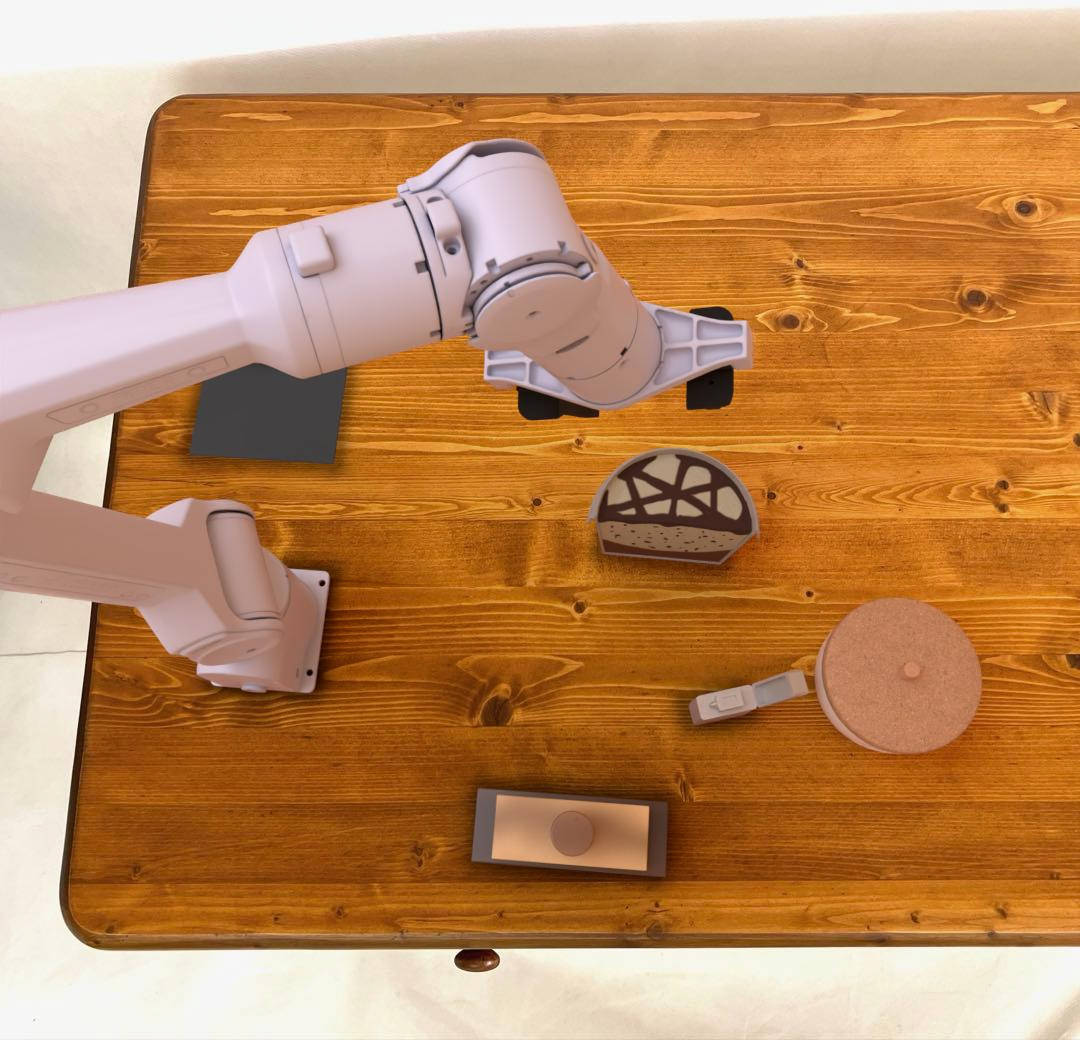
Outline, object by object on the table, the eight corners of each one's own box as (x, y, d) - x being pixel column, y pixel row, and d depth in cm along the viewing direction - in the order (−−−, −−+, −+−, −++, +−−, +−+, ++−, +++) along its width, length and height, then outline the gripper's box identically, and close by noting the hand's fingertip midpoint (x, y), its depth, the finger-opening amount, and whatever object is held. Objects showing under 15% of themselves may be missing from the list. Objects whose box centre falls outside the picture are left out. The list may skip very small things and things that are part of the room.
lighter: (693, 726, 74) (709, 715, 66) (687, 703, 74) (703, 690, 66) (784, 705, 74) (811, 692, 66) (778, 683, 74) (803, 667, 67)
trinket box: (936, 772, 72) (990, 765, 63) (790, 745, 73) (823, 735, 64) (944, 630, 75) (997, 605, 66) (805, 606, 76) (838, 578, 67)
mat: (334, 465, 80) (333, 463, 80) (190, 456, 80) (188, 454, 80) (356, 312, 84) (355, 310, 84) (218, 304, 84) (217, 302, 84)
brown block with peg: (643, 869, 65) (655, 875, 57) (493, 857, 65) (485, 862, 58) (646, 806, 66) (657, 805, 58) (498, 795, 66) (491, 792, 59)
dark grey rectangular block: (656, 872, 71) (665, 877, 65) (477, 858, 71) (470, 861, 65) (659, 803, 72) (668, 802, 66) (483, 789, 72) (477, 787, 67)
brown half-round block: (742, 492, 79) (768, 447, 69) (739, 566, 77) (765, 531, 67) (589, 479, 79) (594, 432, 70) (583, 552, 78) (587, 514, 68)
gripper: (730, 225, 46) (773, 323, 58) (451, 263, 51) (545, 345, 63) (730, 372, 44) (774, 439, 57) (445, 395, 50) (542, 452, 62)
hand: (653, 397), depth 60 cm, fingers open, 7 cm apart
